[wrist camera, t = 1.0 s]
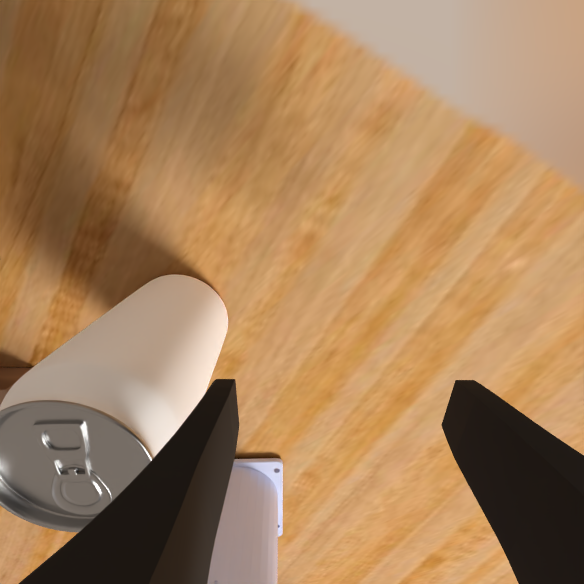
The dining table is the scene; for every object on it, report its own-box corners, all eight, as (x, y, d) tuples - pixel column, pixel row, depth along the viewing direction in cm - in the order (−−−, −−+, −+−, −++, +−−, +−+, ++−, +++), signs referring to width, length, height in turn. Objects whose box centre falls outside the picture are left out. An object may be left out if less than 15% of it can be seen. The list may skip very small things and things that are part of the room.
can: (143, 357, 22) (-6, 544, 10) (127, 272, 20) (-84, 392, 8) (232, 356, 22) (181, 538, 11) (226, 271, 20) (154, 388, 8)
